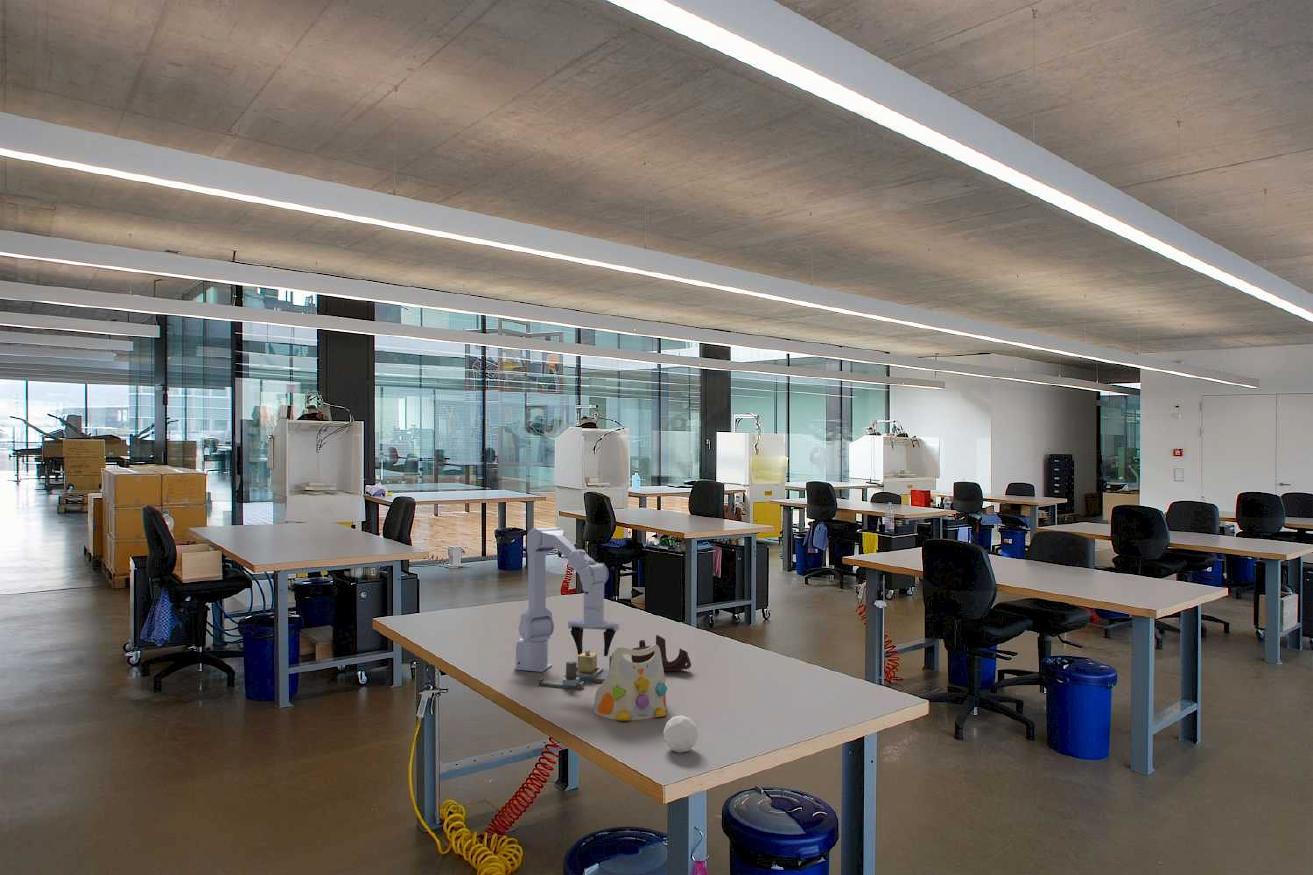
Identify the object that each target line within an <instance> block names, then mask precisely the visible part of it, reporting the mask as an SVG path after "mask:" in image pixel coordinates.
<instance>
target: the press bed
mask: <svg viewBox="0 0 1313 875" xmlns="http://www.w3.org/2000/svg"><path fill="white" fill-rule="evenodd" d="M614 652H615V651H613V652H611V654H610V655H609V664H608V666H609V669H610V664H611V659H612V656H613V653H614ZM609 669H604V668H603V667H597V672H596V673H594V674H582V673H577V677H578V678H580V682H582V681H583V682H584V683H585V682H586V683H594V684H595V683H596V684H602V683H603V682H604V680H605V679H606V677H607V675H608V672H609ZM577 671H578V665H577ZM565 677H566V674H565V675H564V678H565Z"/></svg>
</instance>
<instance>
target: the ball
mask: <svg viewBox="0 0 1313 875" xmlns="http://www.w3.org/2000/svg"><path fill="white" fill-rule="evenodd" d="M697 728H698V727H697V725H696V724H695V722H694V721H693V720H692V718H691V717H688V716H685V715H682V714H681V715H676V716H672V717H671V718H670V719H669V720H668V721H667V722H666V723H665V726H664V729H663V732H662V733H663V738H664V743H665V744H666V746H667V747H668V748H669V750H672V751H674V752H676V753H678V754H680V753H685V752H688V751H690V750H692V748H693V747H694V746H695V745H696V743H697V740H698V737H699V733H698V729H697Z"/></svg>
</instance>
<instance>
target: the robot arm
mask: <svg viewBox="0 0 1313 875" xmlns="http://www.w3.org/2000/svg"><path fill="white" fill-rule="evenodd" d="M554 550H556V551H558V552H559V553H561V554H562V555H563V556H564V557H565V558H567V564H568V565H569V566H570V567H571V568H572V569H573V570H574V571H575V572H576V573H577V574H579V579H580V583H581V588H582V591H583V619H580V620H579V619H578V620H577V619H573V620H572V619H571V620H569V621H568V622H567V629H570V634H571V636H572V638H573V640H574V643H575V647H576V651H577V656H578V655H581V654H582V653H583V636H584V630H585V629H586V630H599V631H600V630H601V631H603V630H604V631H603V644H604V645H603V657H608V656H609V651H610V647H611V644H612V641H613V638H614V637H615V634H616V632H618V631H619V630H620V622H614V621H613V622H612V621H607V620H606V621H605V620H604V619H605V618H604V617H605V616H604V614H605V613H604V612H605V611H604V610H605V607H604V606H605V584H606V583H607V581H608V580H609V575H610V574H609V573H610V572H609V569H608V567H607V566H606V564H605V563H604V562H600V563H599V562H597V561H595V560H594V559H593V558H592V557H590V556H589V554H587V551H586V550H584V549H577V548H575V547H574V545H573V544H572V543H571V541H570V540H568V539H567V538H566V533H565V531H564V530H563V529H562V528H561V527H560V526H553V527H540V528H539V527H537V528H536V527H533V528H531V529H530V530H529V531H528V533H527V534H526V553H527V559H528V561H527V562H528V563H527V568H528V571H527V572H528V577H527V578H528V579H527V580H528V584H527V585H528V588H527V590H528V591H527V593H528V595H527V596H528V600H527V602H528V607H527V609H525V610H524V611H523V612H522V613H521V614H520V621H519V625H518V632H519V635H520V638H519V639H518V640H517V642H516V646H515V666H514V668H513V669H514V670H516V671H517V670H519V671H528V672H529V671H530V672H539V673H543V672H544V671H546V670H548V669H549V668H550V667H552V666H553V664H552V663H548V662H549V661H548V659H549V657H548V656H549V654H548V653H549V640H550V639H551V636H552V635H553V633H554V630H555V622H554V620H553V613H552V611H551V610H549V609H548V608H547V605H546V604H547V601H546V597H547V596H546V594H547V588H546V585H547V583H546V579H547V578H546V574H547V573H546V557H547V556H548V555H549V554H550V553H551V552H552V551H554Z"/></svg>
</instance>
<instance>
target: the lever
mask: <svg viewBox="0 0 1313 875" xmlns="http://www.w3.org/2000/svg"><path fill="white" fill-rule="evenodd" d="M577 666H578V661H574V660H569V661H566V662H565V675H566V677H565V676H564V678H563V679H562V682H563V684H562V685H570V686H576V685H578V684H580V683H581V681H580V678H578V677H577Z"/></svg>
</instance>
